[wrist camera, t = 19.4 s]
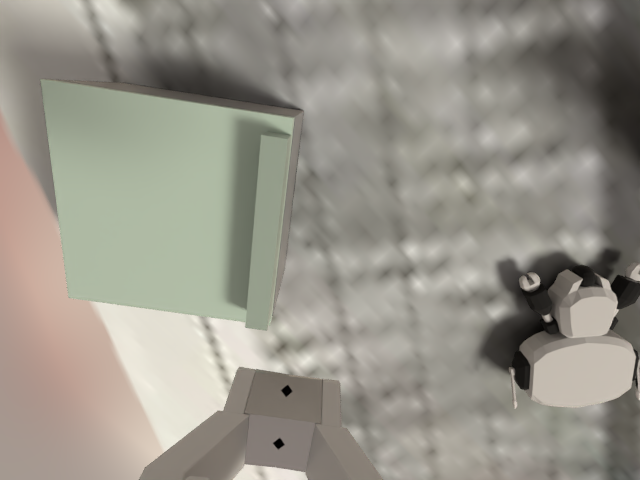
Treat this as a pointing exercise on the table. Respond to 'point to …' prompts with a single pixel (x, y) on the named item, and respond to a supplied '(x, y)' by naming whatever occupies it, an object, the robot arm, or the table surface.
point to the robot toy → (577, 340)
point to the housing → (241, 105)
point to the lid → (168, 200)
